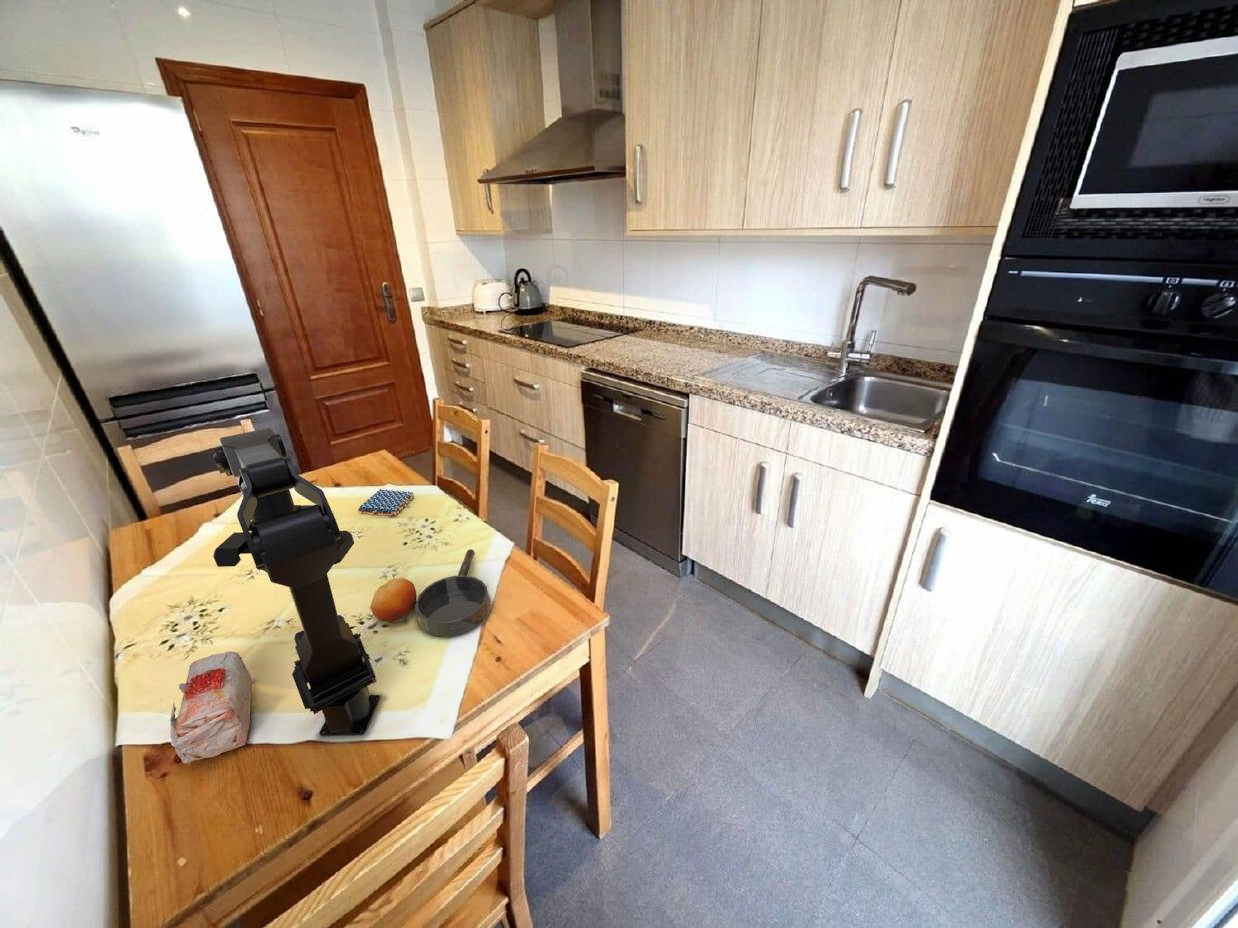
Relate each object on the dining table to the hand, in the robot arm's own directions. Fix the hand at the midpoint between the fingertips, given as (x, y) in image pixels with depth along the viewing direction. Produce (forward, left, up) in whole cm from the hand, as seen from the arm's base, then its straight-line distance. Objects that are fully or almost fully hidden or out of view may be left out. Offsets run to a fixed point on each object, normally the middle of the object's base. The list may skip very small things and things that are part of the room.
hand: (300, 589), depth 83 cm
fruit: (+7, -11, -12) cm, 18 cm away
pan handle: (+18, -22, -10) cm, 30 cm away
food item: (-16, +6, -12) cm, 21 cm away
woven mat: (+47, +5, -12) cm, 49 cm away
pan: (+7, -22, -12) cm, 26 cm away
